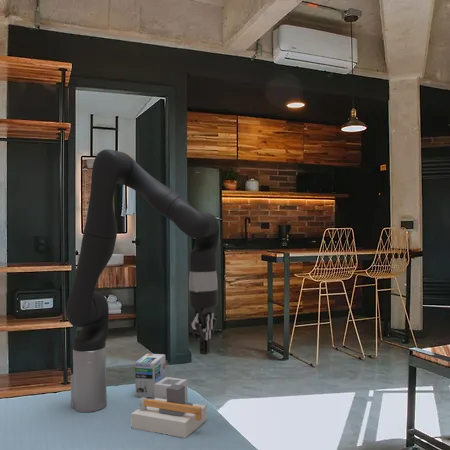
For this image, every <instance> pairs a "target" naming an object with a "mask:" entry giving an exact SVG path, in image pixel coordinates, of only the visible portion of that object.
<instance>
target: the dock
mask: <svg viewBox="0 0 450 450" xmlns="http://www.w3.org/2000/svg"><path fill="white" fill-rule="evenodd" d="M173 384H176V385H183V386H185V402H187V403H189V402H188V400H189V399H188V379H185V378H177V377H169V376H166V378H164V379H162V380H160V381H159V382H157V383H155V384H154V398H153V399H155V398H161V399H167V388H168V387H170V386H171V385H173Z"/></svg>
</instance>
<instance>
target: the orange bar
mask: <svg viewBox="0 0 450 450" xmlns="http://www.w3.org/2000/svg"><path fill="white" fill-rule="evenodd" d="M147 406H148V407H154V408H160V409H167V410H173V411H179V412H185V413H191V414H195V420H198V421H200V420H201V407H197V406H191V405H185V404H178V403H172V402H165V401H159V400H153V399H151V398H147V397H139V408H140V410H146V409H147Z"/></svg>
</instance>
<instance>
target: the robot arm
mask: <svg viewBox="0 0 450 450" xmlns="http://www.w3.org/2000/svg"><path fill="white" fill-rule="evenodd" d="M91 170H92V171H91V179H90V180H91V182H90V191H89V192H90V195H89V201H88V207H87V213H86V219H85V223H84V224H85V225H84V228H83V232H82V233H83V234H82V238H81V246H80V252H79V256H78V261H77V266H76V271H75V276H74V278H73V283H72V286H71V289H70V292H69V296H68V299H67V302H66V308H65V309H66V310H65V311H66V318H67V320H68V323H69V324H70V325H71V326H73V327H74V328H81V330H80V332H79V333H78V334H76V336H75V337H74V338H73V340H72V363H73V364H72V365H73V366H72V369H73V373H72V374H70V405H71V406H70V407H71V408H72V409H74V411H77V412H81V413H91V412H95V411H99V410H102V409H104V408H105V407H106V406H107V404H108V403H107V358H106V357H107V356H106V354H107V353H106V352H107V351H106V342H107V339H108V335H109V322H110V321H109V316H110V314H109V313H110V311H109V304H108V300H107V298H106V296H105V295H104V294H103V293H101V292H99V291H95V290H96V287H97V283H98V280H99V278H100V276H101V274H102V273H103V272H104V270H105V268H106V266H107V265H108V264H109V262H110V260H111V258H112V256H113V254H114V251H115V247H116V241H117V237H118V236H117V235H118V225H117V224H118V223H117V219H116V216H115V215H116V214H115V210H114V196H115V191H116V186H117V185H123V186H126V187H128V188H129V189H130V188H131V189H132V190H134V191H135V192H137V193H138V194H140V195H141V196H142V197H143V198H144V199H145V201H146V202H147V203H148V205H150V206H151V208H153V209H154V210H155V211H157V212H158V213H159V214H160V215H162V216H163V217H165V218H166V219H168V220H169V221H172V222H173V224H174V225H175V226H177V228H178V229H179V230H180V231H181V232H182V233H184V234H185V235H186V236H188V237H189V238H191V239H193V240H194V247H193V249H192V250H191V251H190V253H189V277H188V290H189V291H188V293H189V295H188V296H189V297H188V298H189V303H188V304H189V306H190V307H191V308H193V309H194V311H193V321H190V322H189V324H188V325H189V326H188V327H189V330H190V331H191V333H192V335H193V336H194V339H195V340H199V353H200V355H209V354H210V351H211V349H210V339H211V338H212V336H213V335H214V333H215V331H216V330H215V329H216V325H217V322H218V319H219V315H218V314H216V313H214V312H215V310H214V308H215V307H217V306H218V305H219V298H218V296H219V295H218V294H219V293H218V292H219V291H218V289H219V287H218V275H217V256H216V255H217V250H218V245H219V243H218V242H219V239H220V238H219V237H220V236H219V235H220V225H219V221H218V219H217V217H216V216H215V215H214V214H212V213H210V212H201V211H199V210H197V209H196V208H194V207H193V206H191V204H190V202H189V201H188V199H186V198H185V197H183V196H181V195H180V194H179V193H177V192H176V191H174V190H173V189H171V188H170V187H168V186H166V185H165V184H163V183H161V182H160V181H159V180H157V179H156V178H154V177H153V176H152V175H151V174H150V173H149V172H148V171H146V170H145V169H144V168H143V167H142V166H141V165H140V164H139V163H138V162H137V161H135V160H134V158H132V156H130V154H128V153H125V152H123V151H119V150H114V149H103V150H100V151H99V152H98V153H97V154H96V156H95V158H94V160H93V164H92V169H91Z"/></svg>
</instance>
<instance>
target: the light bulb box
mask: <svg viewBox="0 0 450 450" xmlns="http://www.w3.org/2000/svg"><path fill="white" fill-rule="evenodd" d="M134 371H135V372H134V375H135V376H134V377H135V378H134V380H135V382H134V384H135V397H137V398H141V397H146V398H148V399H151V398H153V399H154V384H155V383H157V382H159V381H160V380H162V379H164V378H166V377H167V376H166V375H167V373H166V371H167V368H166V354H161V353H146V354H145V355H143V356H142V357H140V358H139V359H138V360H137V361H135V362H134Z"/></svg>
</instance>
